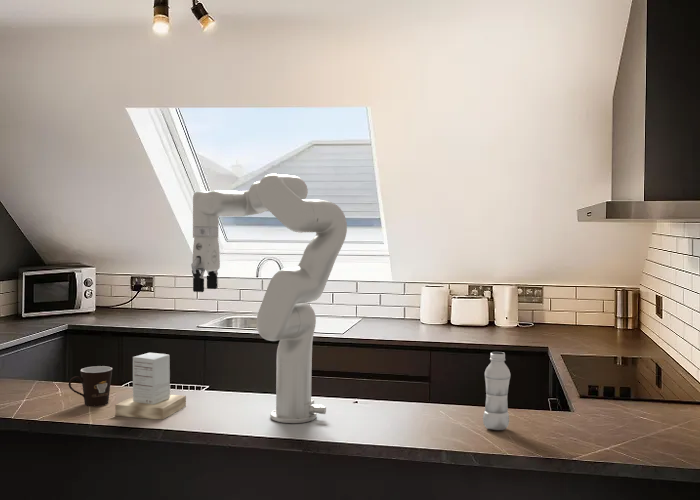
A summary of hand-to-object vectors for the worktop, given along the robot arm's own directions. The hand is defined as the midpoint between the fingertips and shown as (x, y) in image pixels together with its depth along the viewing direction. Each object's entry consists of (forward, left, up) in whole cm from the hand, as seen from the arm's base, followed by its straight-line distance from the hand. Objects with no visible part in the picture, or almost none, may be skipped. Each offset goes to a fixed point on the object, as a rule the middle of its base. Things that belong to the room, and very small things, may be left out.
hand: (205, 290), depth 212 cm
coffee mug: (+28, +16, -32) cm, 46 cm away
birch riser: (+8, +18, -32) cm, 38 cm away
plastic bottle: (-86, +11, -32) cm, 93 cm away
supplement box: (+8, +18, -30) cm, 36 cm away
